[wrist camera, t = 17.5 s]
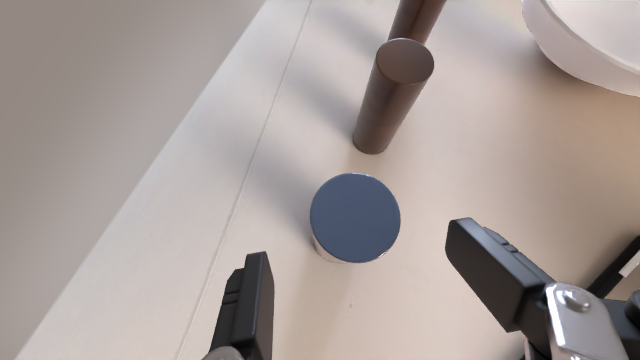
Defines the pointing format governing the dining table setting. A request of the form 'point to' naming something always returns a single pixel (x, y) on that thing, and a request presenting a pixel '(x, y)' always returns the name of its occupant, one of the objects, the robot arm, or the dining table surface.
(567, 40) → the bowl
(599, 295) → the pen
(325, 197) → the cylinder
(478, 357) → the dining table surface
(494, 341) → the dining table surface
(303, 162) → the dining table surface
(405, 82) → the pegs
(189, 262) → the dining table surface
